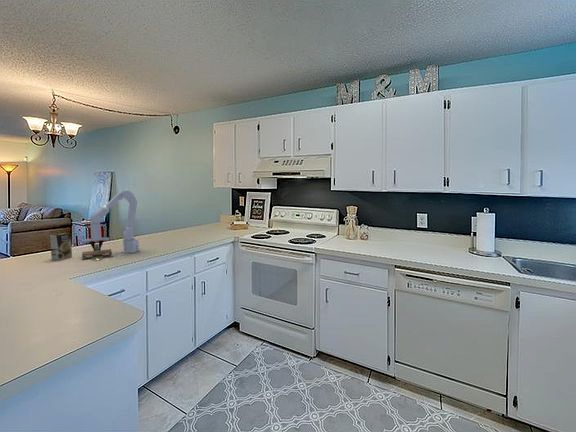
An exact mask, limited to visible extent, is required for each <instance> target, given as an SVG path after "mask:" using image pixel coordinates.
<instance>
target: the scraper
mask: <svg viewBox="0 0 576 432" xmlns="http://www.w3.org/2000/svg"><path fill="white" fill-rule="evenodd" d="M97 250H99V243H95V251H97ZM95 258H102V260H103V259H104V254H98V255H91V260H92V261H93V259H95Z"/></svg>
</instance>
